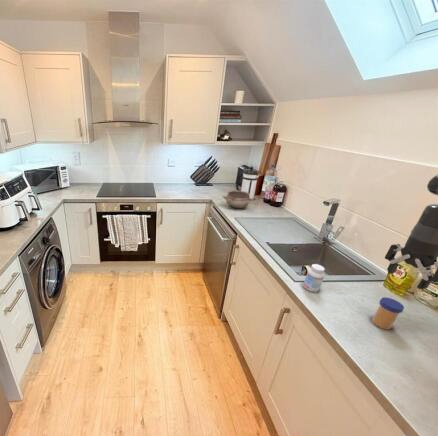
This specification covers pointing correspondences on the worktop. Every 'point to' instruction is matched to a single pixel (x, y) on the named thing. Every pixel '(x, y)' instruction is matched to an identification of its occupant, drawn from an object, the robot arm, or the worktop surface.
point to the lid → (391, 305)
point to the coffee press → (248, 181)
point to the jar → (384, 318)
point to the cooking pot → (238, 199)
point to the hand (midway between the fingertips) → (404, 280)
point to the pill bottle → (314, 278)
